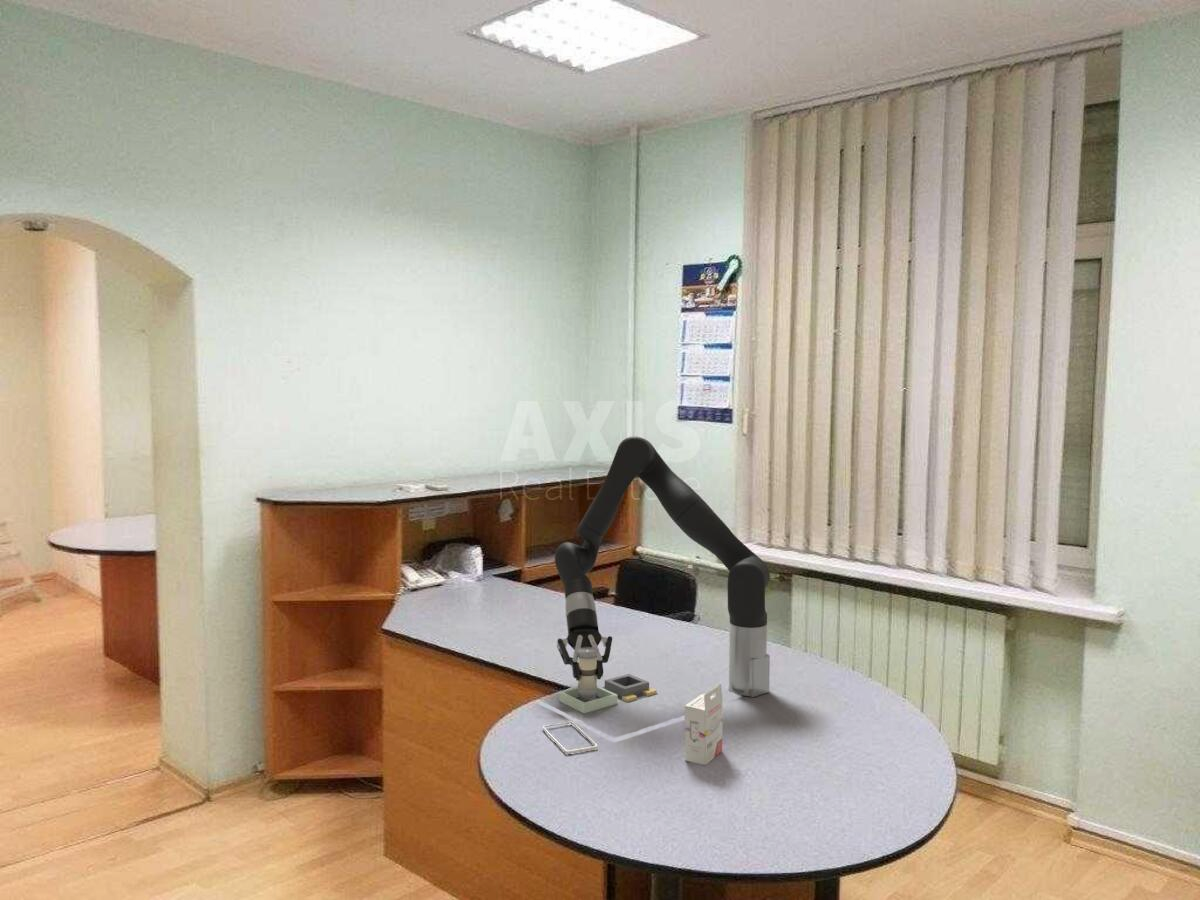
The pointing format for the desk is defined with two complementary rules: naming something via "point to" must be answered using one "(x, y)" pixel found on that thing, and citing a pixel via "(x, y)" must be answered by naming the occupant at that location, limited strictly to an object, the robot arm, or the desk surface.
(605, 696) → the tray
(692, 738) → the ink cartridge box
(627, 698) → the holder
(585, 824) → the desk surface
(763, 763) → the desk surface
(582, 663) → the grey beige cylinder
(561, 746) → the phone case
